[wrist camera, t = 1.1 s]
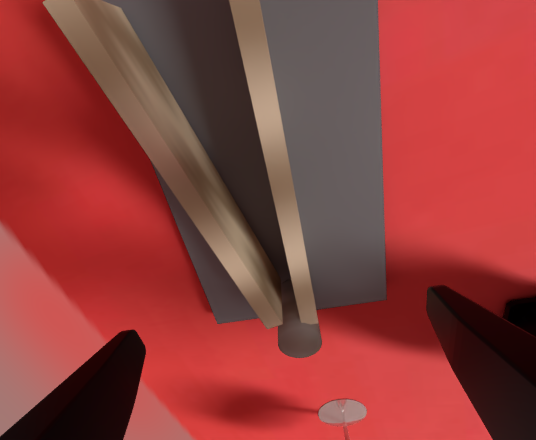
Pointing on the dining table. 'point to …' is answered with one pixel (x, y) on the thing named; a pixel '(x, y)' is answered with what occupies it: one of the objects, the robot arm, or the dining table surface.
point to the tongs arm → (169, 144)
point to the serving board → (295, 131)
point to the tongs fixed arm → (278, 183)
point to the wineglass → (342, 414)
